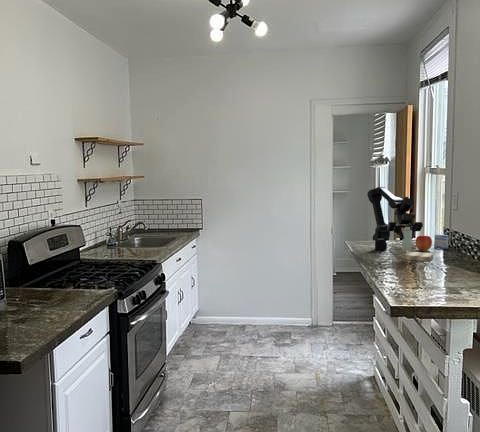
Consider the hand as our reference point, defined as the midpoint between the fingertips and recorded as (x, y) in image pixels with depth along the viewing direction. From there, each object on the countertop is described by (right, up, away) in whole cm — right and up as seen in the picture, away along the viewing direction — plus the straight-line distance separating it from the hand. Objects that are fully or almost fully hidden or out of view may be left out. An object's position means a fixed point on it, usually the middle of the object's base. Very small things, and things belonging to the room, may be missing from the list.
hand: (408, 238), depth 264 cm
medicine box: (+36, -8, +41) cm, 55 cm away
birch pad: (+9, -12, +7) cm, 16 cm away
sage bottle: (0, -6, +2) cm, 7 cm away
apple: (+21, -9, +31) cm, 38 cm away
